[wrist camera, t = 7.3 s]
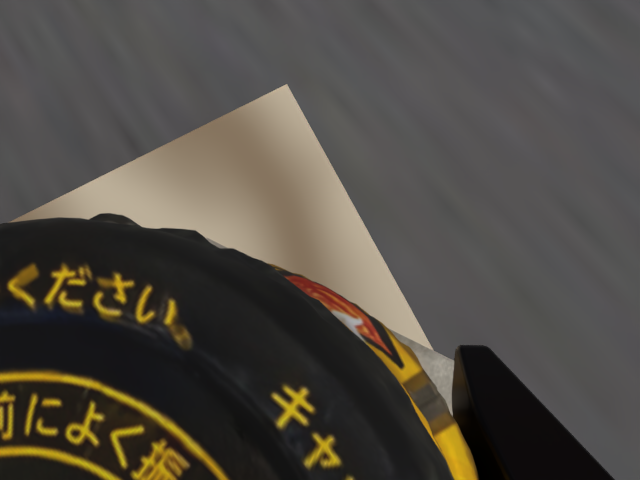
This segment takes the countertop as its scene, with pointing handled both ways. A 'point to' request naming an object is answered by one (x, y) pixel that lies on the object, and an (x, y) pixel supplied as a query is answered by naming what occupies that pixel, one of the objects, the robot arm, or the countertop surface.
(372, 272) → the birch board
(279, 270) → the condiment
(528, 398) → the robot arm
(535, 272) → the countertop surface
